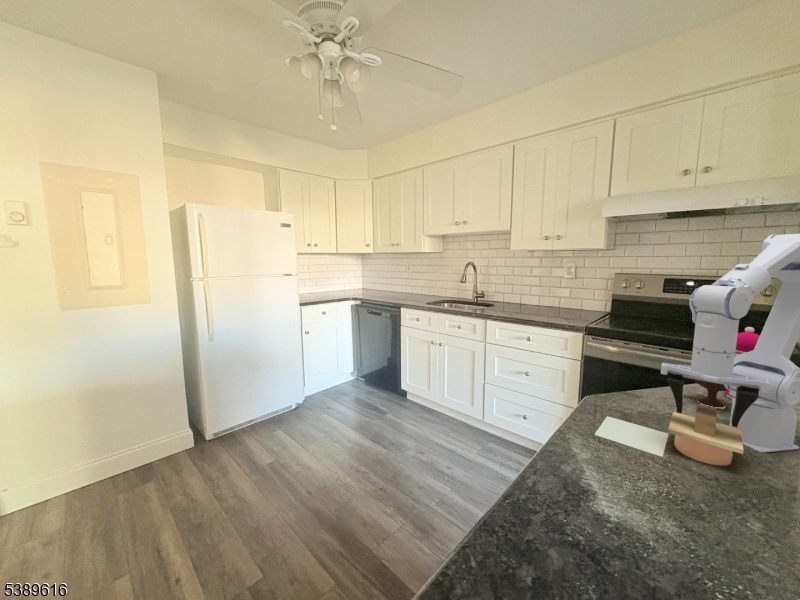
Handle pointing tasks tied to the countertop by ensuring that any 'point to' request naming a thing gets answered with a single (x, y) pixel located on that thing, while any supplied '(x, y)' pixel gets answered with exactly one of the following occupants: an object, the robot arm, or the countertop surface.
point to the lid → (706, 429)
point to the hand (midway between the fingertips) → (705, 417)
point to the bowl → (703, 451)
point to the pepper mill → (745, 343)
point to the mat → (633, 435)
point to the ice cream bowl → (711, 392)
